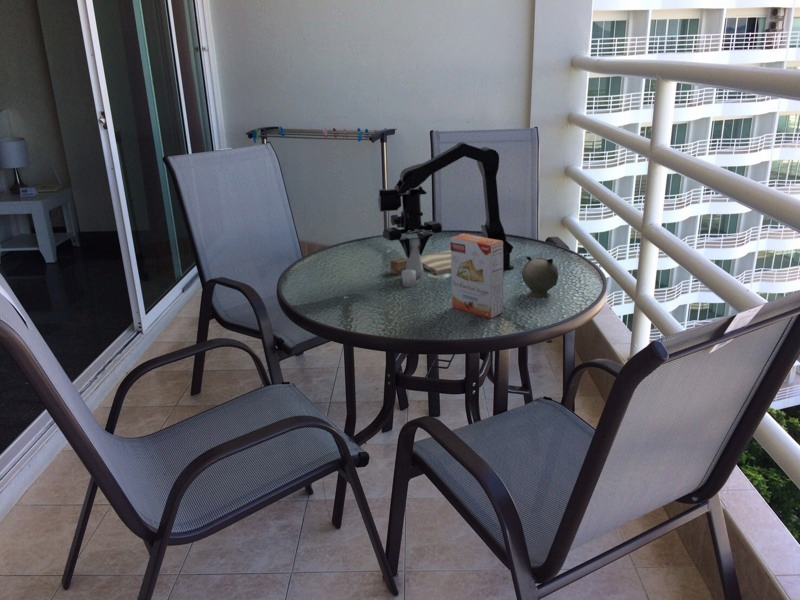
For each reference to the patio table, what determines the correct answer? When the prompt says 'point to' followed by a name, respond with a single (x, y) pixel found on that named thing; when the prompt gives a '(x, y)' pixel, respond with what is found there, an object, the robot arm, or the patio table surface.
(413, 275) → the white rounded cube
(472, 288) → the cracker box
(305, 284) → the patio table surface
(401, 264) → the walnut block
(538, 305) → the patio table surface
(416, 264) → the salt shaker
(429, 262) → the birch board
